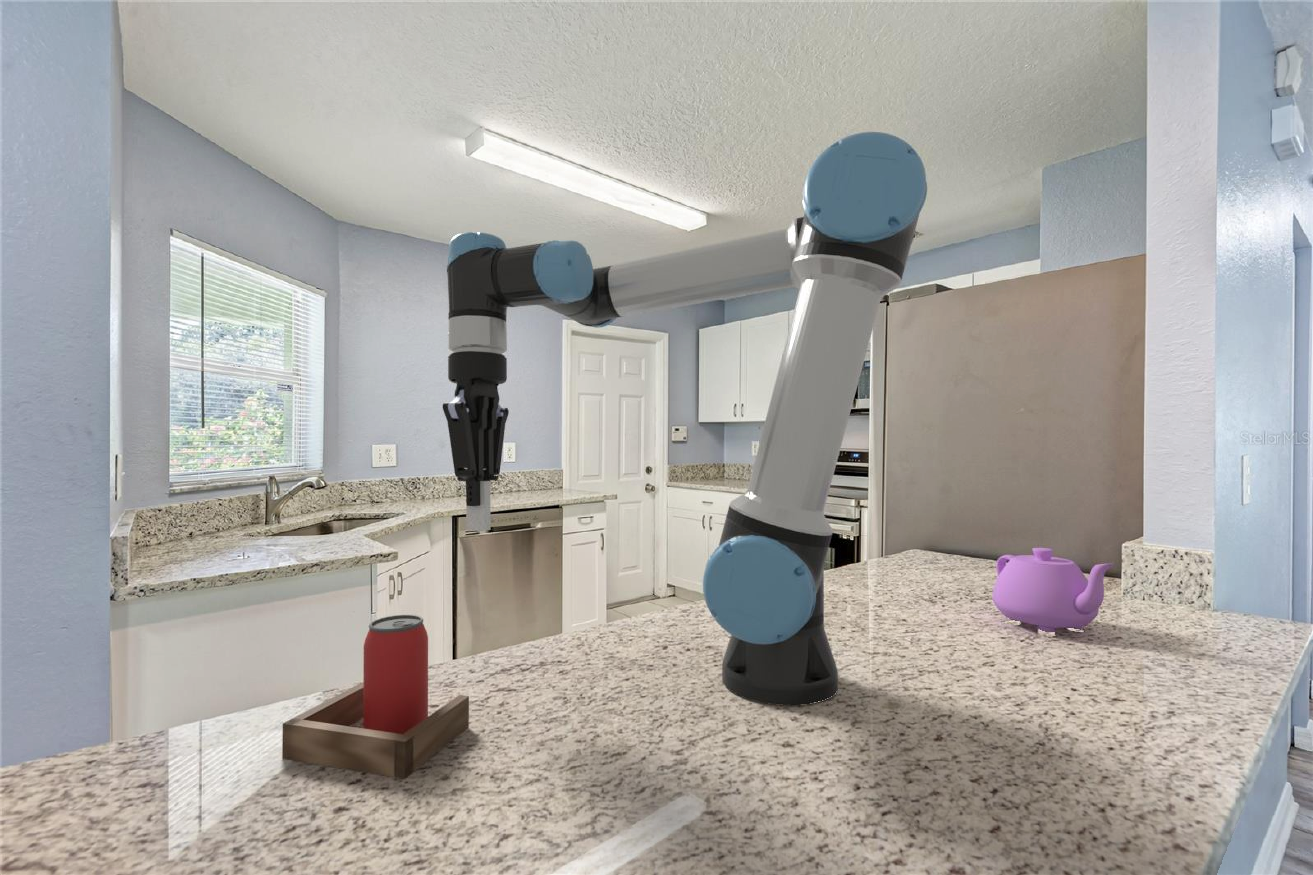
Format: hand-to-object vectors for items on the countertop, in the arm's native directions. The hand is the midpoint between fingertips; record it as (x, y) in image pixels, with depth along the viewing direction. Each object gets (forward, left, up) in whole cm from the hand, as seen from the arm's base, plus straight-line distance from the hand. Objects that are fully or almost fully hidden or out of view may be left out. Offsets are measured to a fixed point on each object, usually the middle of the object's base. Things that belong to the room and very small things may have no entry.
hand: (478, 530), depth 80 cm
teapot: (-83, -48, -21) cm, 98 cm away
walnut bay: (+1, +16, -20) cm, 26 cm away
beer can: (+2, +14, -21) cm, 25 cm away
